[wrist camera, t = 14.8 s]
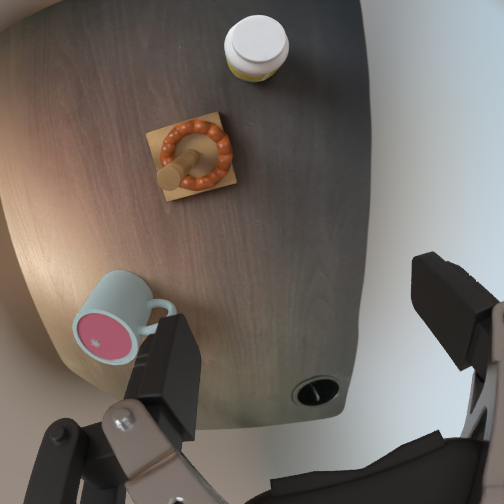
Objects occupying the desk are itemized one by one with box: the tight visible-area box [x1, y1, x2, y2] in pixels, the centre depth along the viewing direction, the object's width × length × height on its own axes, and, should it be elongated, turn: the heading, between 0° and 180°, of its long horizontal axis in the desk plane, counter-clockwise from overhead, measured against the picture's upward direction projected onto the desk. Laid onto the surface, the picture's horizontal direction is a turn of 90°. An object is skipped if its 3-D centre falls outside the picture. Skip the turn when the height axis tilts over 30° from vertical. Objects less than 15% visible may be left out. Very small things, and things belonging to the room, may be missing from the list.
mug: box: [73, 270, 177, 365], centre depth 40 cm, size 14×9×10 cm
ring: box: [160, 119, 233, 191], centre depth 35 cm, size 8×8×2 cm
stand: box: [146, 112, 237, 202], centre depth 30 cm, size 9×9×14 cm
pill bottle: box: [224, 15, 289, 82], centre depth 27 cm, size 6×6×11 cm
